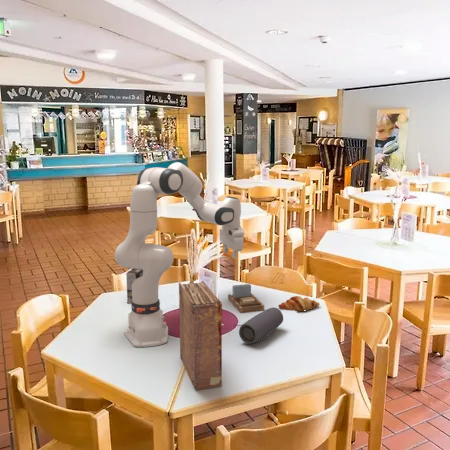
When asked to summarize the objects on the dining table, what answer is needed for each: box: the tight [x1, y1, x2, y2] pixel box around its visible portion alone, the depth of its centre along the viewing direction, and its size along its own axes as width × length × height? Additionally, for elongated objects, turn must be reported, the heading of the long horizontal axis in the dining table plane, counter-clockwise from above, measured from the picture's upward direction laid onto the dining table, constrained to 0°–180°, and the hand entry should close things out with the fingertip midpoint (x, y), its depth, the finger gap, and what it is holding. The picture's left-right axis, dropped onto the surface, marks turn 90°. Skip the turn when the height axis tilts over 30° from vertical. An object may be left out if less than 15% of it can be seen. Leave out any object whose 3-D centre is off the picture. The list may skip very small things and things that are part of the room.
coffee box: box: [125, 268, 143, 304], centre depth 238 cm, size 9×6×16 cm
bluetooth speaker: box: [238, 306, 284, 345], centre depth 196 cm, size 23×9×10 cm, turn 145°
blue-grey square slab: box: [232, 283, 252, 298], centre depth 236 cm, size 2×9×8 cm, turn 107°
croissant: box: [278, 295, 320, 312], centre depth 228 cm, size 21×10×8 cm, turn 104°
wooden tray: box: [227, 292, 265, 314], centre depth 231 cm, size 20×12×4 cm, turn 17°
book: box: [178, 280, 223, 391], centre depth 166 cm, size 25×9×30 cm, turn 17°
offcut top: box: [240, 297, 255, 304], centre depth 229 cm, size 4×6×2 cm
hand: (230, 254), depth 236 cm, fingers open, 8 cm apart
